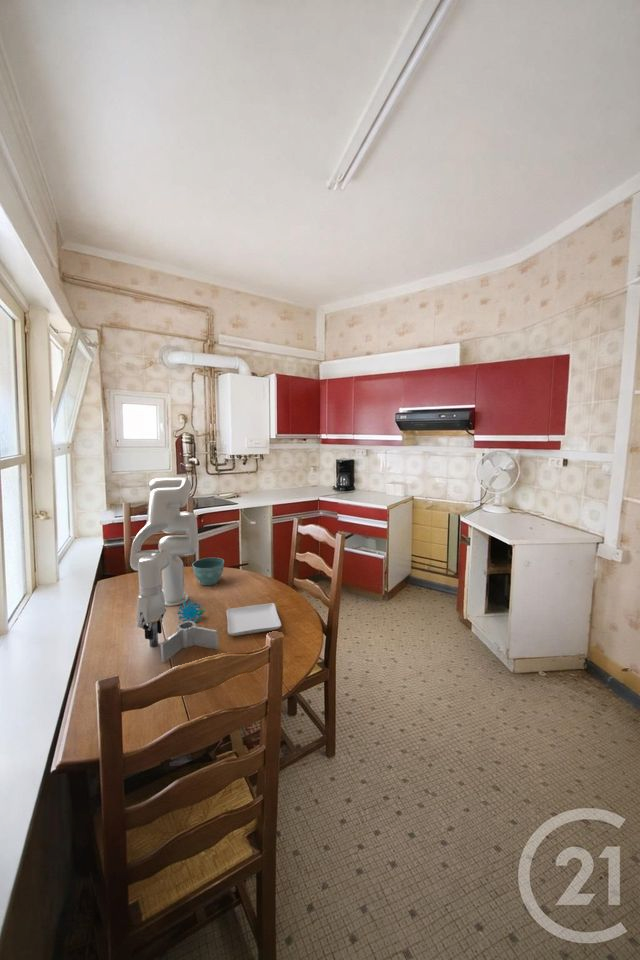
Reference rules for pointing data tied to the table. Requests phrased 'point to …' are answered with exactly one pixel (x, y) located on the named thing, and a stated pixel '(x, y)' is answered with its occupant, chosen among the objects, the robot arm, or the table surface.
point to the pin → (154, 633)
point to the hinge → (188, 639)
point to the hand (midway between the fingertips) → (153, 635)
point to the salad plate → (252, 619)
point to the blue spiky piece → (190, 611)
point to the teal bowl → (208, 570)
